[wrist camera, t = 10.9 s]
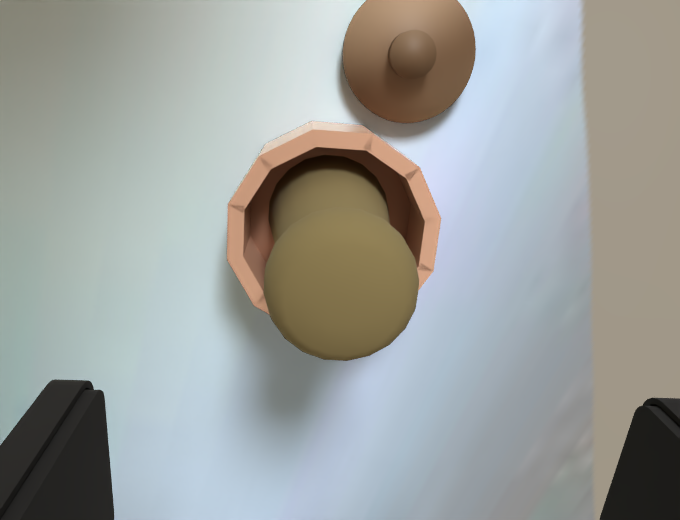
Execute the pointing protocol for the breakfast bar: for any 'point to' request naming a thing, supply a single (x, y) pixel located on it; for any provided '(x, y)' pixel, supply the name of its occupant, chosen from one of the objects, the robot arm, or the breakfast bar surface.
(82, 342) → the breakfast bar surface
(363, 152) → the pink faceted round bowl
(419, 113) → the lid
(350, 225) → the cork
